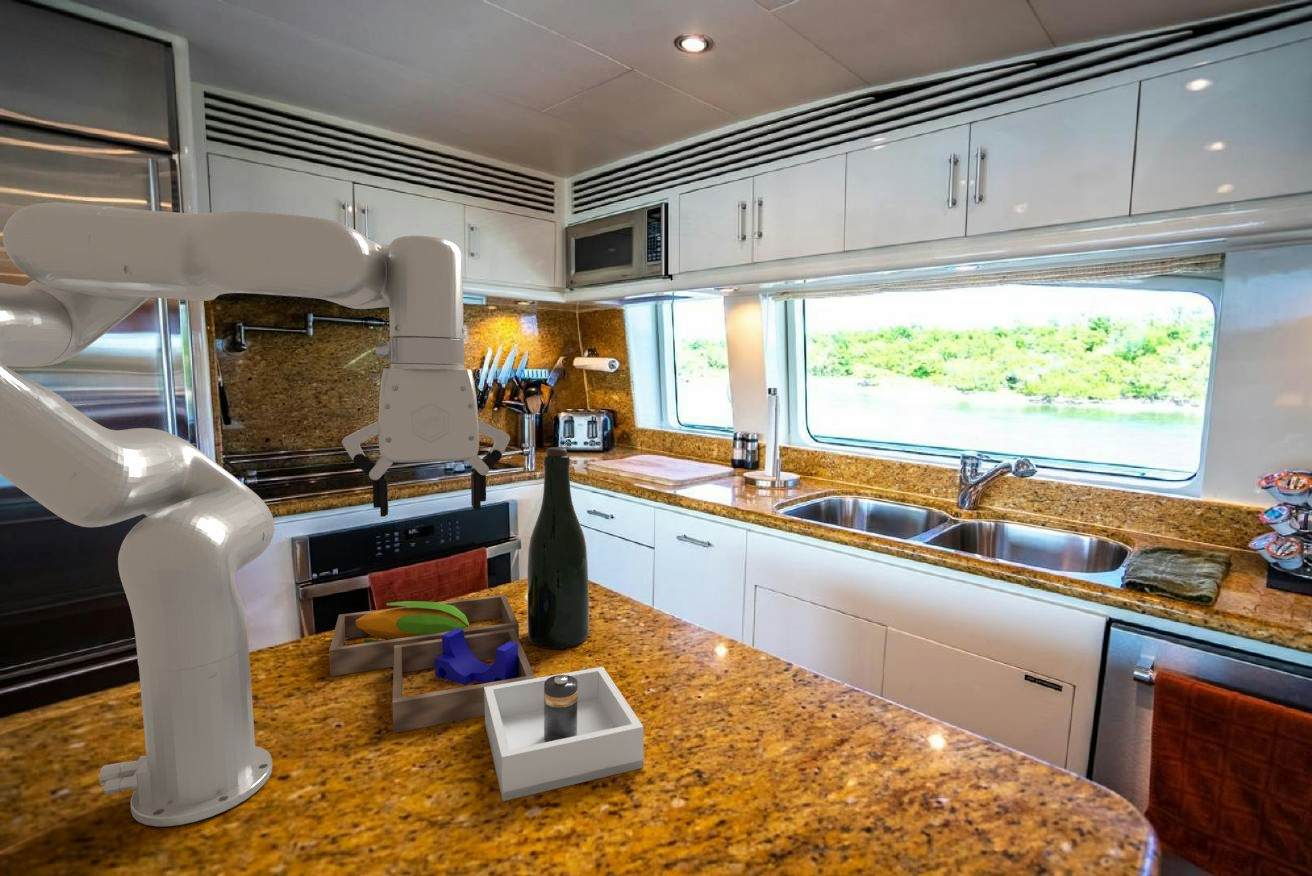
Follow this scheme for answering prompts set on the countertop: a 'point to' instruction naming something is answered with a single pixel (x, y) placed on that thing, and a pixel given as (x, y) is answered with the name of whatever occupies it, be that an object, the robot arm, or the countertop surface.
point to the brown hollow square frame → (452, 701)
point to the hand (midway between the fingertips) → (431, 511)
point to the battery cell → (560, 707)
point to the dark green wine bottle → (557, 563)
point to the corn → (412, 620)
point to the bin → (540, 766)
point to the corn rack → (383, 651)
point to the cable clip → (474, 661)
